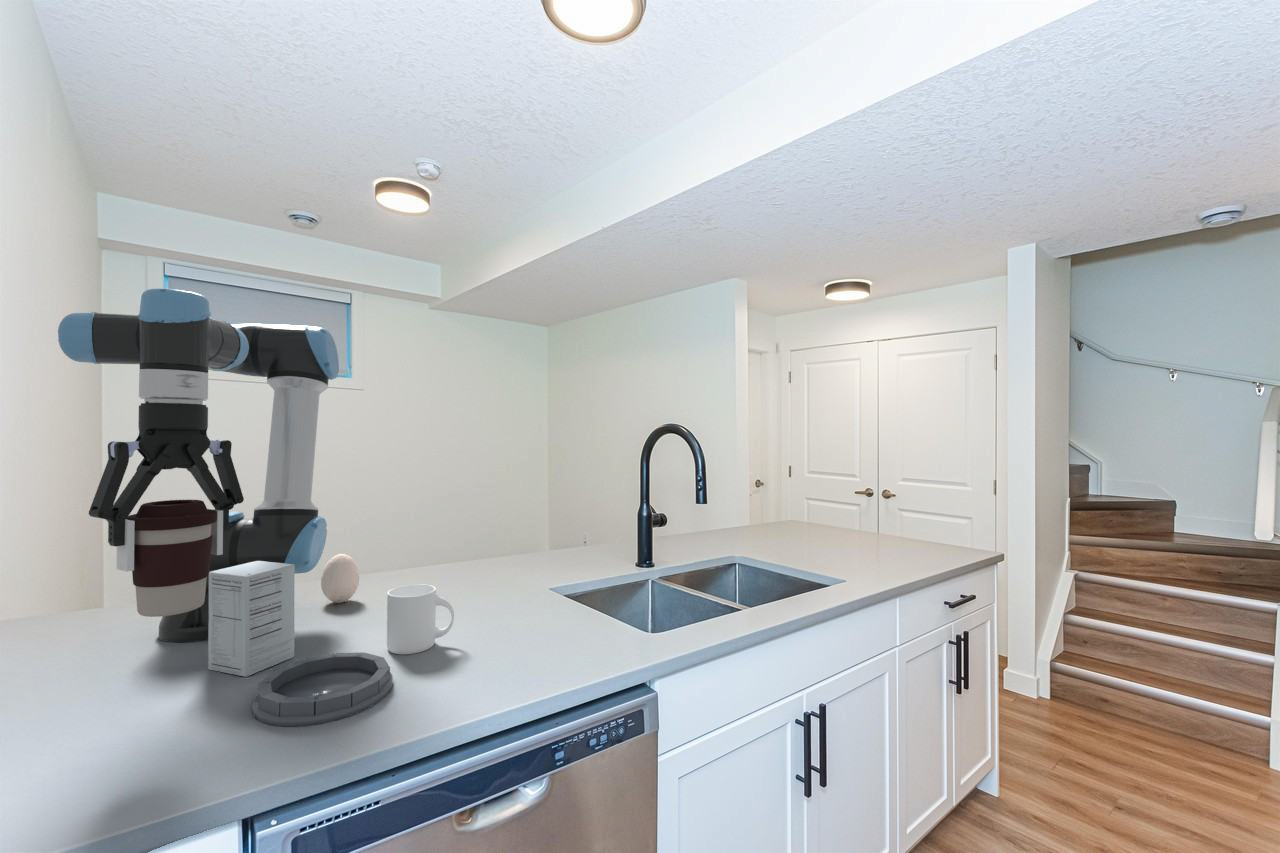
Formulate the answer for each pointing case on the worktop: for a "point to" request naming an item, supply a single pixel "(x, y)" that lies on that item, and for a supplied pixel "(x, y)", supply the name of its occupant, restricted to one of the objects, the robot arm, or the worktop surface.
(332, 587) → the egg
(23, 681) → the worktop surface
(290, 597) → the supplement box
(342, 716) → the bowl
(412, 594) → the mug
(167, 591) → the coffee cup
